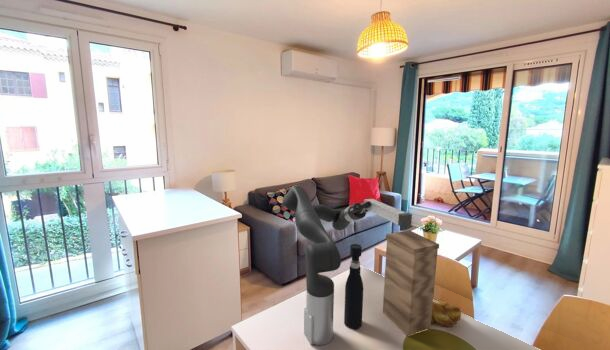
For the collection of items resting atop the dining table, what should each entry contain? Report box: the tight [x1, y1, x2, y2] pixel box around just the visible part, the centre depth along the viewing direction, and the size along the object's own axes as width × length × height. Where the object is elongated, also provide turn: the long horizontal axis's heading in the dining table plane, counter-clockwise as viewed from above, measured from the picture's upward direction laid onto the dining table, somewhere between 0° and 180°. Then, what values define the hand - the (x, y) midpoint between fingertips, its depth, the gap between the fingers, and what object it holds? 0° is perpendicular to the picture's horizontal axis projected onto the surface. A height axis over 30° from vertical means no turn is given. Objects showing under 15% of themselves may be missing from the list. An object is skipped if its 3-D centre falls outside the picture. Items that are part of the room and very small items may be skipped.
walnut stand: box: [382, 229, 440, 337], centre depth 103 cm, size 11×14×32 cm
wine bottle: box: [343, 243, 364, 330], centre depth 102 cm, size 6×6×30 cm
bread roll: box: [431, 300, 462, 328], centre depth 105 cm, size 13×10×8 cm
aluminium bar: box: [363, 198, 413, 228], centre depth 113 cm, size 4×24×4 cm, turn 22°
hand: (374, 203), depth 120 cm, fingers closed on aluminium bar, 4 cm apart
